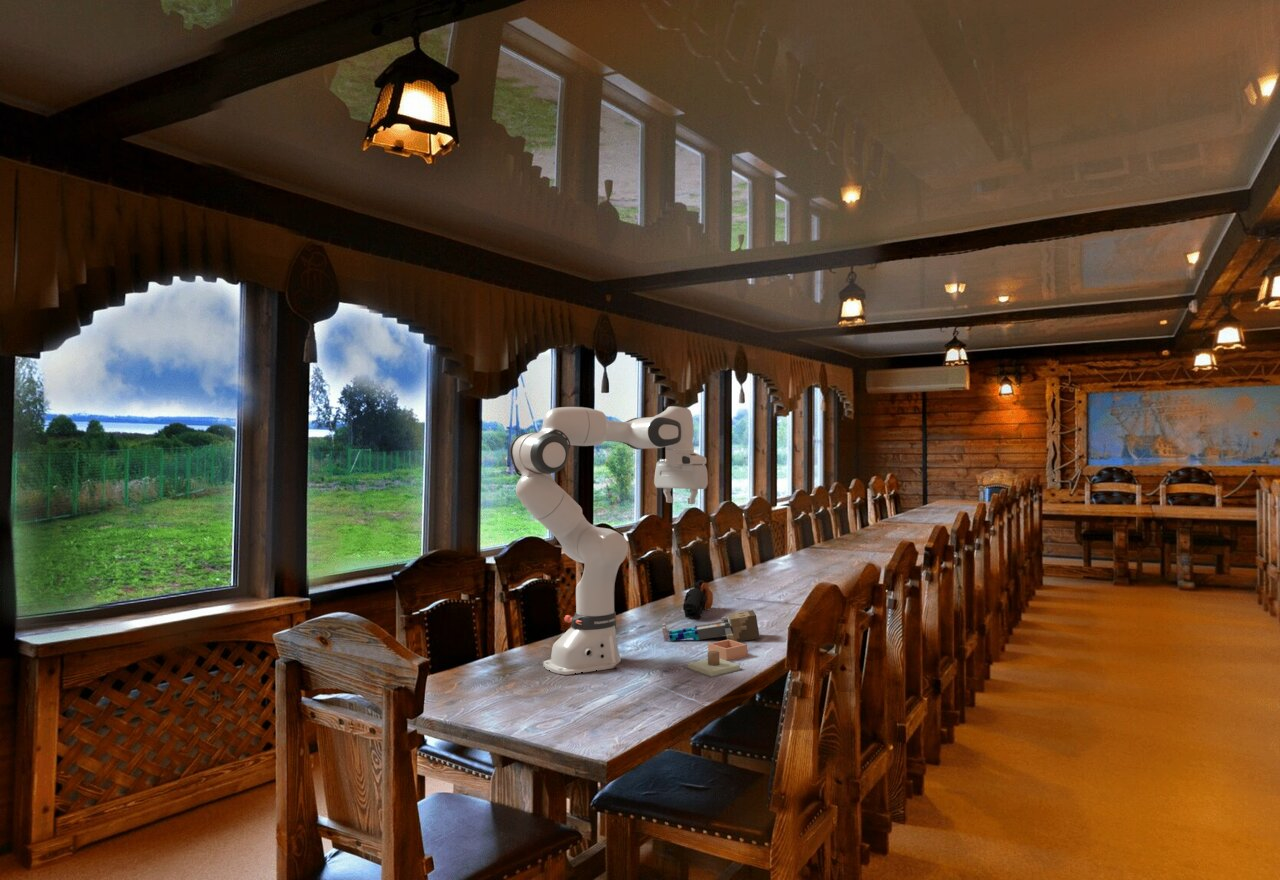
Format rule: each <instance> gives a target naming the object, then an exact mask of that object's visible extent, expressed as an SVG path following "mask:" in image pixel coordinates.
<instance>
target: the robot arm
mask: <svg viewBox="0 0 1280 880" xmlns="http://www.w3.org/2000/svg"><path fill="white" fill-rule="evenodd" d="M693 439H694V418H693V413H692V412H691V410H690V409H689V408H687V407H684V406H680V405H670V406H667V408H666V409H665V410H664V411H662V412H660V413H658V414H656V415H654V416H651V417H650V416H649V417H648V416H647V417H633V418H631V419H628V420H627V421H618V420H617V421H615V420H609V419H608V417H607V416H606V414H605V413H604V412H603V411H600V410H598V409H594V408H590V407H584V406H563V407H562V406H561V407H560V406H559V407H554V408H551V409H549V410H548V411H547V412H546V413H545V414H544V417H543V419H542V427H541V429H540V430H539V432H525V433H521V434H520V435H517V436H516V437H515V438H514V439H513V440H512V441H511V442H510V445H509V447H508V448H509V449H508V451H509V452H508V453H509V457H510V460H511V462H512V465H513V467H514V471H515V473H516V474H517V475H518V476H520V477H519V480H517V483H516V485H515V494H516V496H517V498H518V499H519V501H520V503H521V504H522V505H523V506H524V507H525V509H526V510H527V511H528V512H529V513H530V514H531V515H532V516H533V517H534V518H535V519H536V521H538V522H539V523H540V524H541V525H542V526H543V527H544V528H546V530H548V531H549V532H550V533H551V534H552V535H553V536H554V538H556V540H557V541H558V543H559V544H560V545H561V548H562V551H563V553H564V554H565V555H566V556H567V557H568V558H570V559H571V560H573V561H574V562H577V563H582V564H584V565H583V567H584V568H583V573H582V576H581V579H580V580H579V582H577V584H576V587H575V606H576V607H575V609H576V610H575V611H576V612H575V613H574V615H573V616H572V615H570V614H567V615H565V617H563V620H564V622H566V623H569V624H570V627H569V628H568V629H567V630H566V632H564V633H563V634H562V635H561V636H560V637H559V638H557V640H556V641H555V642H554V643H553V645H552V648H551V652H550V653H551V654H550V655H551V656H550V659H547V660H544V661H543V668H544V667H545V668H544V669H545V670H547V671H549V670H550V672H552V673H554V674H558V675H565V676H566V675H567V676H568V675H575V673H576V674H582V673H581V672H583V673H590V672H596V670H597V671H603V670H610V669H615V668H617V665H618V664H619V663H620V662H621V661H622V657H621V655H620V652H619V648H618V642H617V635H616V634H617V633H616V627H617V615H616V613H617V612H616V611H615V583H616V579H617V574H618V571H619V568H620V566H621V564H622V563H623V562H624V561H625V559H626V557H627V555H628V553H629V552H628V551H629V544H628V541H627V539H626V537H625V536H623V534H621V533H619V532H618V531H616V530H613V529H611V528H606V527H598V526H595V525H593V524H591V523H590V522H589V521H588V520H587V518H586V517H585V515H584V514H583V508H582V507H581V505H579V503H578V502H576V500H574V499H573V497H571V496H570V495H569V494H568V492H566V491H565V490H564V488H562V487H561V486H560V485H558V483H557V482H556V481H555V480H554V478H553V475H552V474H556V473H557V472H559V471H561V470H563V468H565V466H566V465H567V462H568V461H569V460H568V459H569V453H570V449H571V446H578V447H589V446H590V447H592V446H598V445H601V444H603V443H604V442H615V443H621V444H622V443H623V444H625V445H626V446H628V447H630V448H632V449H633V450H646V449H662V448H665V451H664V452H665V458H659V459H658V460H657V462H656V464H655V471H654V480H653V481H654V482H653V484H654V486H655V488H656V489H662V490H663V491H662V492H663V495H664V497H665V502H666V503H669V504H673V503H674V496H672V495H671V491H672V489H683V490H684V489H685V490H689V493H690V496H689V497H687V504H688V505H695V504H696V497H697V495H698V493H699V490H705V489H707V487H708V483H709V480H708V479H709V478H708V469H707V466H706V464H707V457H705V456H703V455H700V454H699V453H696V452H695V447H694V444H693Z"/></svg>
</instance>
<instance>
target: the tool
mask: <svg viewBox="0 0 1280 880" xmlns="http://www.w3.org/2000/svg"><path fill="white" fill-rule="evenodd" d="M713 603H714V595H713V592H712V591H711V589H710V588H709V584H708V583H707V582H705V580H703V579H698V581H695V582H694V585H693V588H690V589H689V590H688V591H687V592H686V594H685V596H684V602H683V604H682V606H683V607H682V609H683V611H684V617H685V619H686V618H688V619H700V618H701V617H702V614H703V612H704V611H707V610H706V609H710V610H711V608H712V606H713Z"/></svg>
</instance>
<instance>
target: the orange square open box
mask: <svg viewBox="0 0 1280 880" xmlns="http://www.w3.org/2000/svg"><path fill="white" fill-rule="evenodd" d="M709 651H718V652H719V658H720V659H723V660H726V661H731V660H735V659H740V658H744V657H748V644H746V643H742V642H741V641H733V640H729V639H728V640H727V639H724V640H720V641H719V640H718V641H715V642H710V643H709V642H708V643H707V653H708V652H709Z"/></svg>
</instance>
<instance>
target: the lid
mask: <svg viewBox="0 0 1280 880" xmlns="http://www.w3.org/2000/svg"><path fill="white" fill-rule="evenodd" d="M687 667H688V668H690V669H693V670H696V671H698V672H701V673H704V674H707V675H710V676H715V675H719V674H723V673H727V672H731V671H735V670H740V668H741V665H740V664H737V663H735V662H732V661H730V660H727V661H726V660H723V659H720V658H719V652H718V651H709V652H708V651H707V659H702V660H698V661H697V660H696V661H693V662H689V663H687Z"/></svg>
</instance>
